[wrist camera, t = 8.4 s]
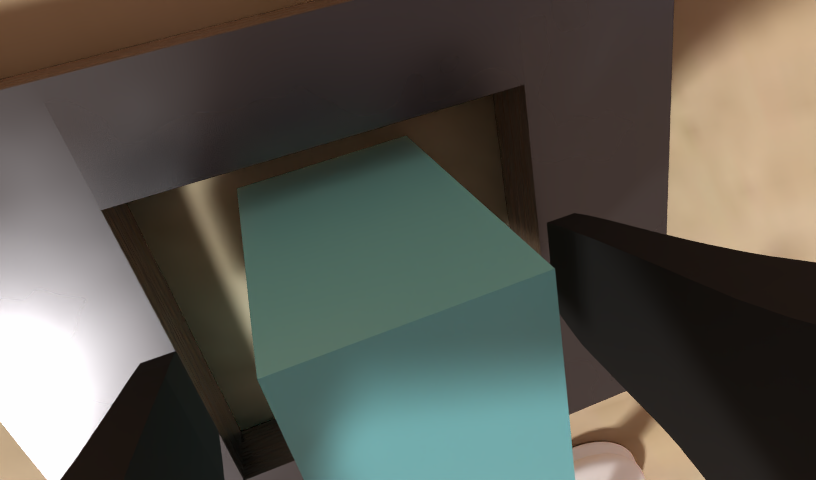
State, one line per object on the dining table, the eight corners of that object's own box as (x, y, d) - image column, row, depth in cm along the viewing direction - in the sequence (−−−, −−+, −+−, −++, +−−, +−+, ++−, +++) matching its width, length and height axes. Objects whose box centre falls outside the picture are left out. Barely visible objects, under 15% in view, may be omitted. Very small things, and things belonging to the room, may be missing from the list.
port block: (623, -77, 11) (676, -83, 10) (626, 344, 17) (661, 375, 15) (-156, 118, 9) (-219, 145, 8) (144, 536, 14) (137, 593, 13)
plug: (406, 134, 12) (555, 268, 7) (445, 314, 14) (578, 515, 9) (236, 187, 11) (256, 379, 6) (307, 366, 14) (365, 612, 8)
